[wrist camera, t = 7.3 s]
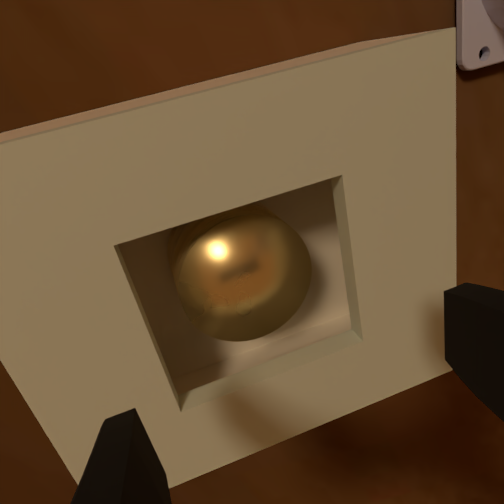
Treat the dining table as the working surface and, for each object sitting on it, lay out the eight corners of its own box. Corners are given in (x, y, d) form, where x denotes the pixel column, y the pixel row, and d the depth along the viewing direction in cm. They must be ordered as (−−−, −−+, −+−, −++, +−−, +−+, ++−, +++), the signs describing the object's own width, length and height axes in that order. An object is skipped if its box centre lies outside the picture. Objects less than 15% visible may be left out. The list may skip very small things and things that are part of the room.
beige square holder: (360, 41, 15) (455, 27, 11) (384, 306, 21) (456, 368, 16) (-36, 142, 13) (-116, 174, 9) (103, 411, 18) (98, 517, 14)
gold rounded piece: (294, 206, 16) (329, 230, 14) (262, 307, 18) (288, 346, 15) (183, 180, 15) (197, 201, 12) (156, 293, 16) (164, 335, 13)
